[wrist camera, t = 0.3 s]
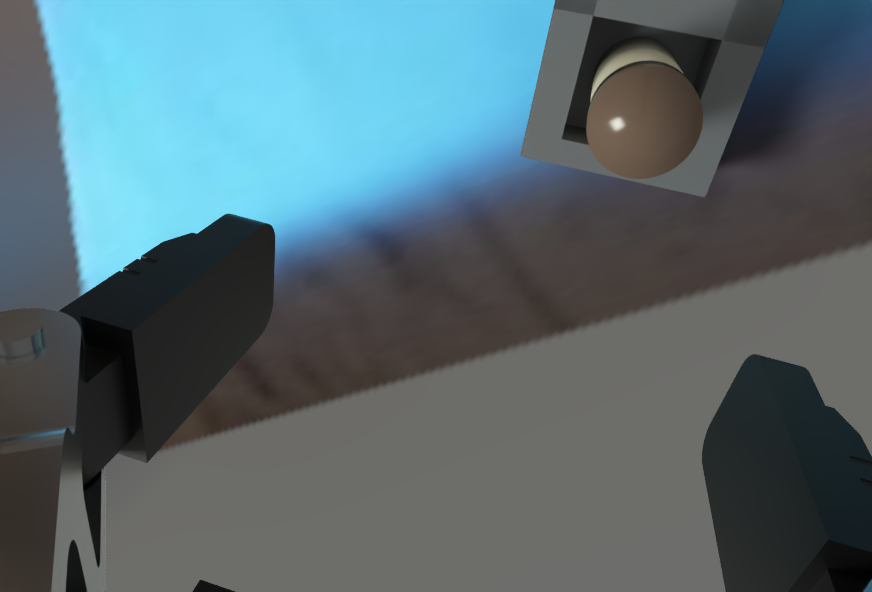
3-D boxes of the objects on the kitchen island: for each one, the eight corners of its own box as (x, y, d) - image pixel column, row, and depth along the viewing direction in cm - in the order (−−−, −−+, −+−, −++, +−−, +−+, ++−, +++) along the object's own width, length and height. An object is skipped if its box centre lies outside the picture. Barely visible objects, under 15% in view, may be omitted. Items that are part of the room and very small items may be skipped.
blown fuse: (604, 28, 30) (603, 56, 22) (691, 44, 29) (721, 79, 22) (581, 113, 32) (574, 165, 24) (662, 130, 31) (680, 189, 24)
